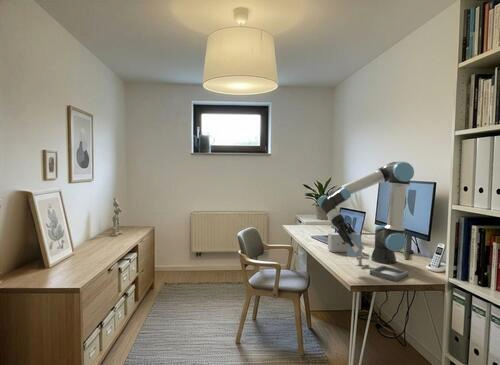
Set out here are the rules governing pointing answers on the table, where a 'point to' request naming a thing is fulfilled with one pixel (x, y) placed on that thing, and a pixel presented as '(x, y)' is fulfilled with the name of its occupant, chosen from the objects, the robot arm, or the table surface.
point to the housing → (389, 273)
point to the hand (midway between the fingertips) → (360, 250)
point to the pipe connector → (361, 258)
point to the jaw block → (357, 241)
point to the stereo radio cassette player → (336, 243)
